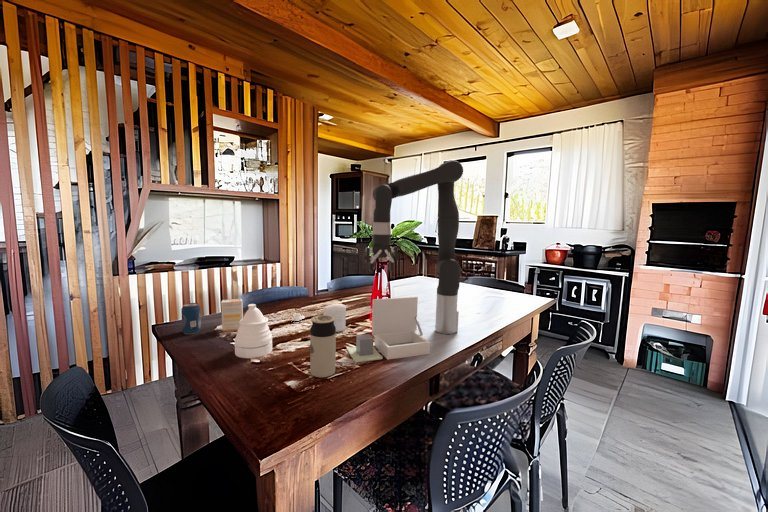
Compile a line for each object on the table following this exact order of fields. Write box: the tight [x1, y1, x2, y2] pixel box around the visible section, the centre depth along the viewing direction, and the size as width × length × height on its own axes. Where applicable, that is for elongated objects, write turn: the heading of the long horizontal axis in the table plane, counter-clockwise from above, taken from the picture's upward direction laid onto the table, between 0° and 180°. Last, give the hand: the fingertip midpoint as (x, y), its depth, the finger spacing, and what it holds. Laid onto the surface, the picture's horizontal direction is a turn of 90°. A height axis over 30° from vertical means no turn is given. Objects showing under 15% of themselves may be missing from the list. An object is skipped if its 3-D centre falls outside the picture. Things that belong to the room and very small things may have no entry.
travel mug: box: [309, 314, 337, 378], centre depth 105 cm, size 8×8×18 cm
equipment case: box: [371, 296, 431, 360], centre depth 126 cm, size 19×14×18 cm
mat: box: [346, 346, 383, 363], centre depth 122 cm, size 10×12×1 cm
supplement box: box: [220, 298, 244, 332], centre depth 144 cm, size 8×5×13 cm, turn 108°
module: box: [355, 333, 374, 356], centre depth 121 cm, size 5×5×6 cm
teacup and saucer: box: [292, 312, 306, 322], centre depth 159 cm, size 9×8×4 cm
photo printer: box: [322, 303, 347, 333], centre depth 145 cm, size 10×4×12 cm, turn 123°
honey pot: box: [234, 303, 273, 359], centre depth 121 cm, size 13×13×18 cm
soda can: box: [181, 302, 202, 335], centre depth 140 cm, size 7×7×12 cm
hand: (381, 271), depth 140 cm, fingers open, 8 cm apart
